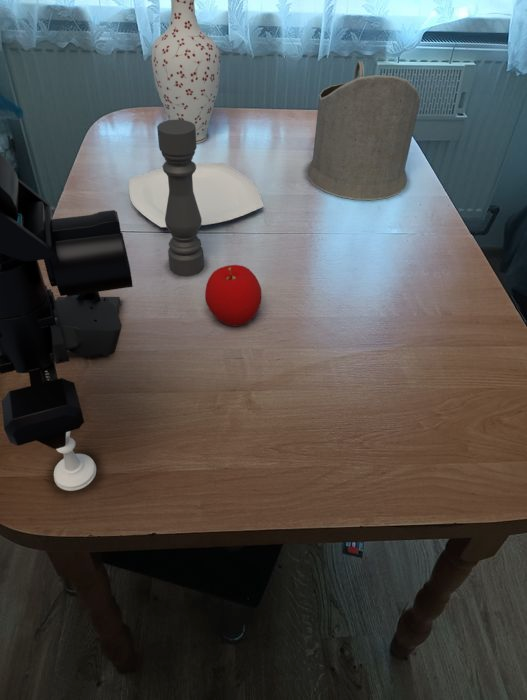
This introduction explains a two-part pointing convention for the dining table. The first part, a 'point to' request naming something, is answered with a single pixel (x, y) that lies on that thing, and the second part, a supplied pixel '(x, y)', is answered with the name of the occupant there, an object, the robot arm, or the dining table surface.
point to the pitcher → (364, 136)
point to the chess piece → (73, 468)
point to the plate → (198, 194)
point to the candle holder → (181, 196)
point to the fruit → (233, 294)
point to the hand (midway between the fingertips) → (53, 413)
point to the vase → (186, 69)
